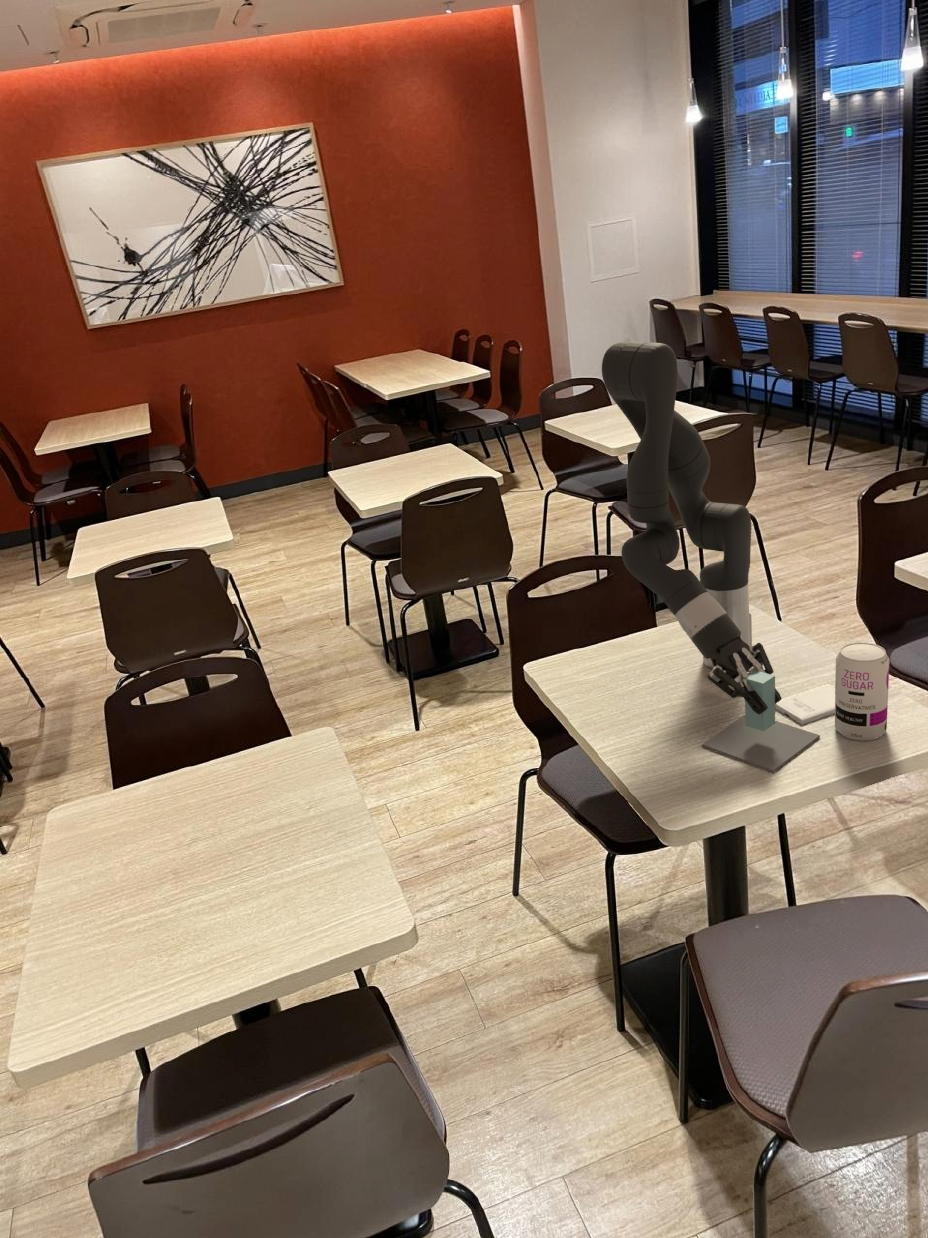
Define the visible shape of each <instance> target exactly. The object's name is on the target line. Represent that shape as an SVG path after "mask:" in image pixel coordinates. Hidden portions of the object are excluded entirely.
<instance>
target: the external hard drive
mask: <svg viewBox="0 0 928 1238" xmlns="http://www.w3.org/2000/svg"><path fill="white" fill-rule="evenodd" d="M775 710H776V711H779V712H780V713H782V714H783V715H786V716H788V717H789V718H791V719H792V720H793V721H795V722H797V723H799V724H800V725H804V724H808V723H811V722H813V721H816V720H819V719H821V718H825V717H828V716H831V715H833V714H834V715H835V686H833V685H831V684H829V683H826V684H823V685H820V686H817V687H813V688H811V689H809V690H808V689H807V690H805V691H802V692H799V693H796V694H794V695H790V696H788V697H785V698H781V700H780V701H779V702H777V703H776V704H775Z"/></svg>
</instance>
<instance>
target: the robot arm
mask: <svg viewBox="0 0 928 1238" xmlns="http://www.w3.org/2000/svg"><path fill="white" fill-rule="evenodd" d="M602 357H603V358H602V362H601V376H602V377H601V378H602V380H603V383H604V386H605V389H606V390H607V392H608V394H609V395H610V397H611V398H612V400H613V401H614V403H615V404H616V405H617V407H618V408H619V409H620V410H621V412H622V413H623V415H624V416H625V417H626V419H627V420H628V421H629V423H630V425H631V426H632V428H633V429H634V430H635V432H636V434H637V436H638V438H639V439H640V440H639V443H638V445H637V446H636V449H635V450H634V453H633V455H632V457H631V458H630V461H629V464H628V467H627V471H626V493H627V495H626V498H627V511H628V514H629V517H630V519H631V520H633V521H634V522H637V523H640V524H641V523H642V524H645V526H646V530H645V531H642V532H641V533H639V534H636V535H634V536H632V537H630V538H628V539H627V540H626V541H625V542H624V543H623V545H622V547H621V552H620V553H621V559H622V562H623V564H624V566H625V567H626V569H627V571H628V572H629V573H630V574H631V575H632V576H633V577H634V578H635V579H637V580H638V582H640V583H642V585H644V586H645V587H646V588H648V589H649V591H652V592H653V594H655V595H657V596H658V597H660V598H661V600H662V601H663V602H664V604H665V605H666V607H667V608H668V610H670V611H671V613H672V614H673V615H674V617H675V618H676V620H677V621H678V623H679V625H680V627H681V629H682V630H683V631H684V632H685V634H686V635H687V637H688V638H689V639H690V640H691V642H692V643H693V645H695V647H696V649H697V650H698V651H699V652H700V654H701V655H702V659H703V660H702V661H703V664H704V665H705V666H706V667H707V668H710V669H712V670H711V671H710V672H709V673H708V674H707V675H706V678H707V679H708V681H710V682H711V683H712V684H714V685H715V686H716V687H718V688H719V689H720V690H721V691H723V692H724V693H725V694H726V695H728V696H729V697H730V698H732V699H736V698H741V699H742V698H743V699H744V701H745V700H746V702H747V703H748V704H749V705H750V707H751V708H752V710H753V711H754V712H756V713H757V714H761V713H763V712H764V711H765V710H767V709H768V707H767V705H766V704H765V702H764V701H763V700H762V699H761V698H760V696H759V695H758V694H757V692H756V691H755V690H754V691H753V687H752V686H751V684H750V682H749V681H748V680H747V679H748V676H749V675H750V674H752V673H754V672H755V671H758V672H759V671H760V672H763V673H767V674H770V675H773V673H774V669H773V666H772V664H771V662H770V659H769V657H768V655H767V652H766V650H765V647H764V646H763V644H762V643H761V642H757V643H756V644H753V630H752V629H753V628H752V626H753V625H752V614H751V613H750V599H749V597H750V595H749V594H750V593H749V588H750V587H749V574H750V567H751V545H752V518H751V514H750V511H749V510H748V509H749V508H747V507H746V506H745V505H742V504H738V503H737V504H735V503H725V502H713V501H710V500H709V499H708V498H707V497H706V495H705V492H704V491H703V488H704V485H705V483H706V481H707V479H708V476H709V474H710V470H711V456H710V454H709V451H708V449H707V447H706V445H705V443H704V440H703V438H702V436H701V435H700V433H699V432H698V430H697V428H696V427H695V426H694V425H693V424H692V423H691V422H690V421H688V419H687V418H685V417H684V416H683V415H681V414H680V413H679V412H678V411H676V409H675V406H676V398H677V388H678V378H679V377H678V375H679V373H678V372H679V371H678V368H679V367H678V360H677V357H676V353H675V352H674V350H673V348H672V347H671V346H670V345H668V344H665V343H661V342H652V341H651V342H646V341H621V342H617V343H615V344H612V345H610V347H608V349H607V350H606V351H605V353H604V355H603V356H602ZM670 495H671V497H672V500H673V501H674V503H675V505H676V507H677V509H678V512H679V514H680V517H681V520H682V522H683V525H684V528H685V530H686V533H687V536H688V538H689V539H690V540H691V542H692V544H693V545H694V546H695V547H698V548H700V549H702V550H708V551H714V552H723V559H722V560H719V561H716V562H712V563H708V564H707V565H705V566H704V567H702V569H701V570H700V572H699V578H698V577H697V575H696V574H695V573H694V572H693V571H692V570H690V569H688V568H682V569H673V568H671V567H669V566H668V565H669V564H670V563H672V562H674V560H675V559H677V556H678V555H679V554H678V553H679V551H680V536H679V532H678V529H677V526H676V523H675V520H674V516H673V514H672V511H671V508H670ZM763 667H764V668H763ZM781 699H782V696H781V694H780V692H779V691H778V689H776V688H775V704H776V703H777V702H779V701H780V700H781Z"/></svg>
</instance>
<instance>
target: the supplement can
mask: <svg viewBox="0 0 928 1238" xmlns="http://www.w3.org/2000/svg"><path fill="white" fill-rule="evenodd" d="M889 676H890V658H889V656H888V655H887V651H886V649H885V648H884V647H882V646H880V645H878V644H875V643H871V642H870V643H869V642H853V643H852V642H851V643H848V644H844V645H843V646H842V647H840V650H839V652H838V653H837V654H836V657H835V680H834V681H835V683H834V684H835V686H834V687H835V713H834V728H835V730H836V731H837V732H838V733H839V734H840V735H842V736H843V737H845V738H847V739H849V740H853V741H858V742H860V741H861V742H862V741H865V740H866V741H865V742H867V740H868V741H872V739H874V740H876V739H878V738H877V737H879V738H880V737H881V736H883V735H884V734H885V733H886V732H887V728H888V726H887V725H888V709H889V708H888V703H889V681H890V677H889ZM875 738H876V739H875Z"/></svg>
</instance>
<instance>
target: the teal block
mask: <svg viewBox="0 0 928 1238" xmlns="http://www.w3.org/2000/svg"><path fill="white" fill-rule="evenodd" d="M747 680H748V681H749V682H750V684H751V686H752V687H753V691H754V690H755V691H756V692H757V694H758V695H759V696H760V698H761V699H762V700H763V701H764V702H765V704H766V705H767V707H768V709H767V710H765V711H764V712H763V713H761V714H757V713H756V712H754V711H753V710H752V708H751V707H750V705H749V704H748V703H747V702H746V700H745V699H744V715H745V726H748V727H751V728H754V729H757V730H760V731H765V730H766V729H768V728H769V727H771V726H772V725H774V724H775V721H776V709H775V689H776V675H773V674H771V675H770V674H767V673H763V672H760V671H759V672H758V671H755V672H754V673H752V674H750V675H749V676H748V679H747Z"/></svg>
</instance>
